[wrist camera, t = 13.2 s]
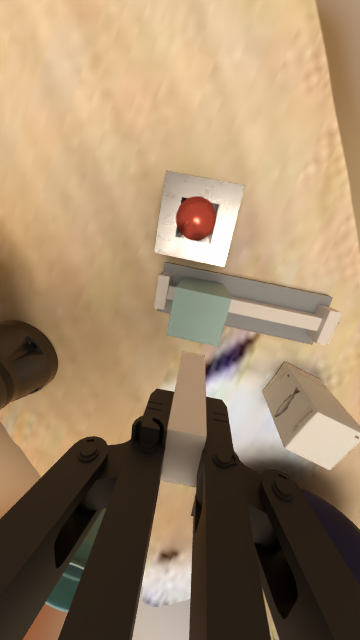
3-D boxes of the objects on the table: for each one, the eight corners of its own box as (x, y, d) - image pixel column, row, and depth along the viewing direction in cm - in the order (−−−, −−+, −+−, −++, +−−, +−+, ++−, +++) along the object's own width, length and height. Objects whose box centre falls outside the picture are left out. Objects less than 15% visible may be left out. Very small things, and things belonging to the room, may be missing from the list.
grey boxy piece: (165, 252, 35) (153, 252, 27) (175, 189, 32) (165, 170, 24) (220, 263, 34) (224, 267, 27) (235, 200, 32) (245, 185, 24)
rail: (158, 308, 38) (152, 316, 33) (166, 262, 35) (160, 263, 31) (308, 340, 37) (323, 354, 32) (327, 295, 34) (347, 302, 29)
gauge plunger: (179, 239, 31) (172, 236, 25) (185, 205, 30) (180, 192, 23) (209, 245, 31) (210, 243, 24) (217, 211, 30) (220, 200, 23)
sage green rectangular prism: (178, 308, 36) (166, 335, 25) (185, 275, 34) (175, 287, 23) (214, 316, 35) (218, 346, 24) (223, 282, 34) (231, 298, 23)
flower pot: (101, 460, 51) (56, 549, 36) (149, 502, 54) (126, 602, 38) (60, 487, 56) (6, 577, 40) (106, 524, 58) (71, 622, 43)
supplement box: (283, 360, 38) (319, 410, 26) (320, 378, 39) (371, 436, 27) (260, 390, 41) (283, 449, 29) (294, 408, 41) (331, 473, 29)
